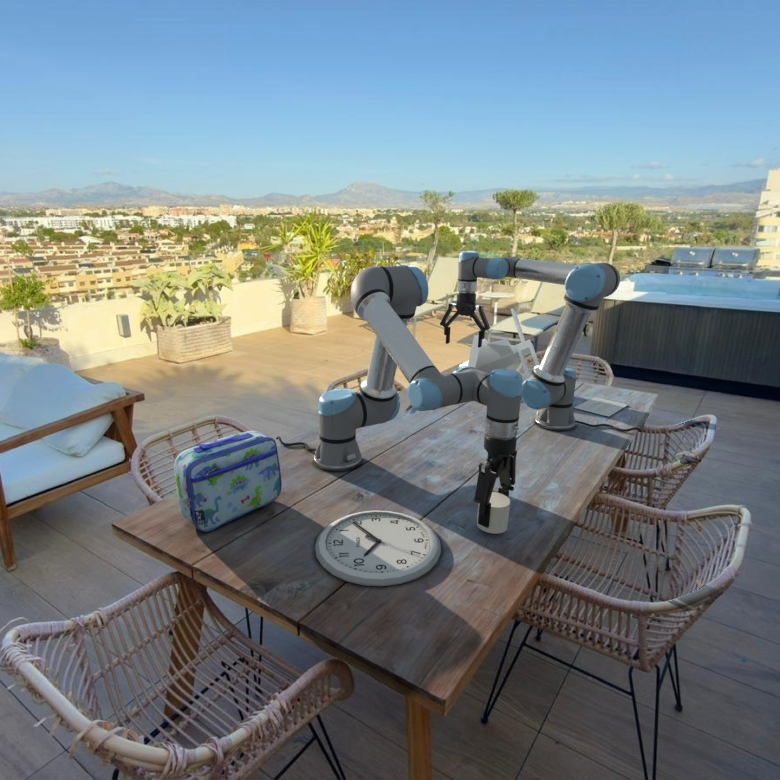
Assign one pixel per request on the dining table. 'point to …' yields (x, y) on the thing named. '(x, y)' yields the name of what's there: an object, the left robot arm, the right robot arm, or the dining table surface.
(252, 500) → the lunch box
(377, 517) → the wall clock
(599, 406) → the invitation card
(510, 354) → the white plastic object
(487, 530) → the canister
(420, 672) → the dining table surface
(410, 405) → the fork
